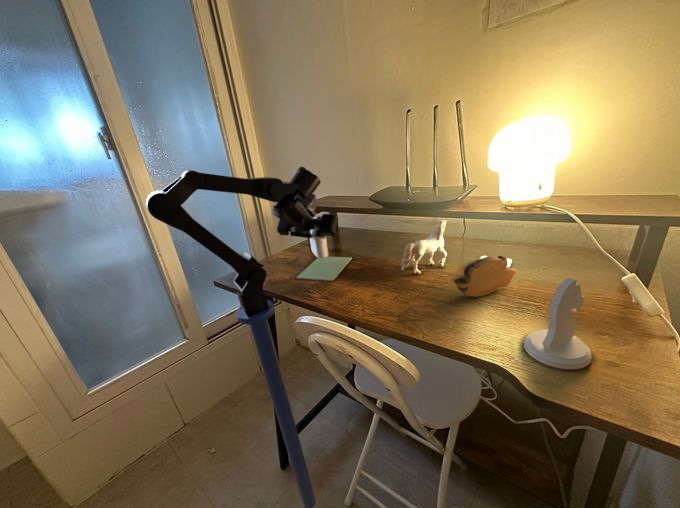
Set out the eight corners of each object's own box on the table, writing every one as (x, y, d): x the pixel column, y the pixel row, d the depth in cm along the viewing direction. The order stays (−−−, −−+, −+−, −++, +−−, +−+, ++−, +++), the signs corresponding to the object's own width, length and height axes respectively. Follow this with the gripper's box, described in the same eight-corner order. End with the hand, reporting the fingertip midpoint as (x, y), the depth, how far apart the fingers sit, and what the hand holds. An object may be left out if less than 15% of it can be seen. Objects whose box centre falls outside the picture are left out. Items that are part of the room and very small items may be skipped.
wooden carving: (500, 280, 80) (504, 245, 75) (515, 287, 76) (521, 250, 72) (449, 298, 75) (450, 262, 71) (462, 306, 72) (465, 268, 67)
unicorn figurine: (457, 259, 95) (460, 217, 89) (419, 281, 85) (419, 237, 79) (437, 254, 101) (438, 215, 95) (399, 275, 91) (398, 232, 85)
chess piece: (603, 355, 53) (629, 278, 46) (568, 378, 49) (591, 299, 43) (545, 328, 61) (560, 260, 54) (512, 346, 58) (523, 276, 51)
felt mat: (332, 281, 93) (332, 280, 93) (296, 278, 99) (296, 277, 98) (352, 258, 107) (352, 257, 107) (319, 257, 113) (319, 256, 113)
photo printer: (330, 256, 98) (324, 218, 93) (317, 259, 97) (311, 221, 92) (322, 249, 107) (316, 214, 103) (310, 251, 106) (304, 216, 102)
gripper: (331, 184, 81) (349, 214, 95) (274, 188, 89) (298, 215, 103) (323, 221, 78) (343, 246, 92) (264, 222, 86) (290, 245, 100)
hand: (317, 237), depth 97 cm, fingers closed on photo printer, 4 cm apart
